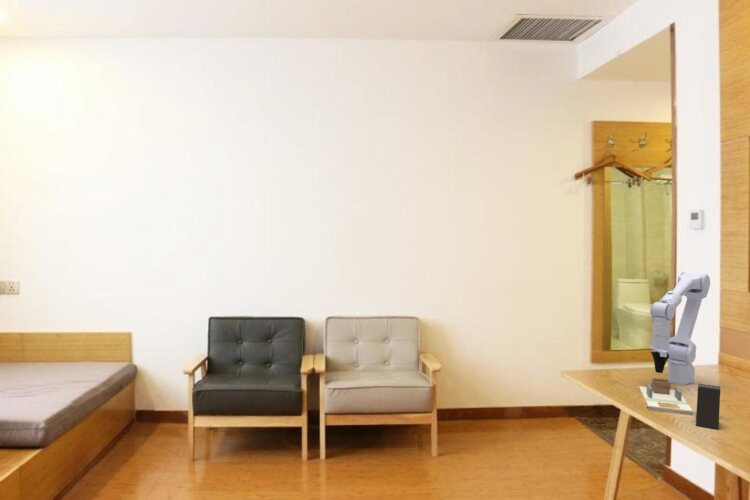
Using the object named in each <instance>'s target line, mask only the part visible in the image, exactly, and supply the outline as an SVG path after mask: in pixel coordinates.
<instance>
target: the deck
mask: <svg viewBox="0 0 750 500" xmlns="http://www.w3.org/2000/svg"><path fill="white" fill-rule="evenodd" d="M638 387H639V389H640V391H641V393H642V395H643V397H644V399H645V398H653V399H662V400H671V401H681V402H687V401H686V399H685V397H684V396H683V395H682V393H683V392H682V390H680V388H679V387H678V386H677V387H676V386H675V387H674V389H671V388H670V395H667V394H658V393H654V392H653V389H652V385H651V384H646V386H642V385H641V386H640V385H639V386H638ZM645 402H646V404H647V406H646V409H647V410H648V411H652V412H660V413H670V414H678V415H686V416H693V411H694V410H693V409H692V407H691V406H690V405H689V404H688V405H683V404H676V405H677V406H678V408H674V407H670V408H669V407H667V406H660V404H659V403H662V404H666V403H665V402H656V401H646V400H645ZM668 404H670V405H671V404H672V405H675V404H674V403H668Z"/></svg>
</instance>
